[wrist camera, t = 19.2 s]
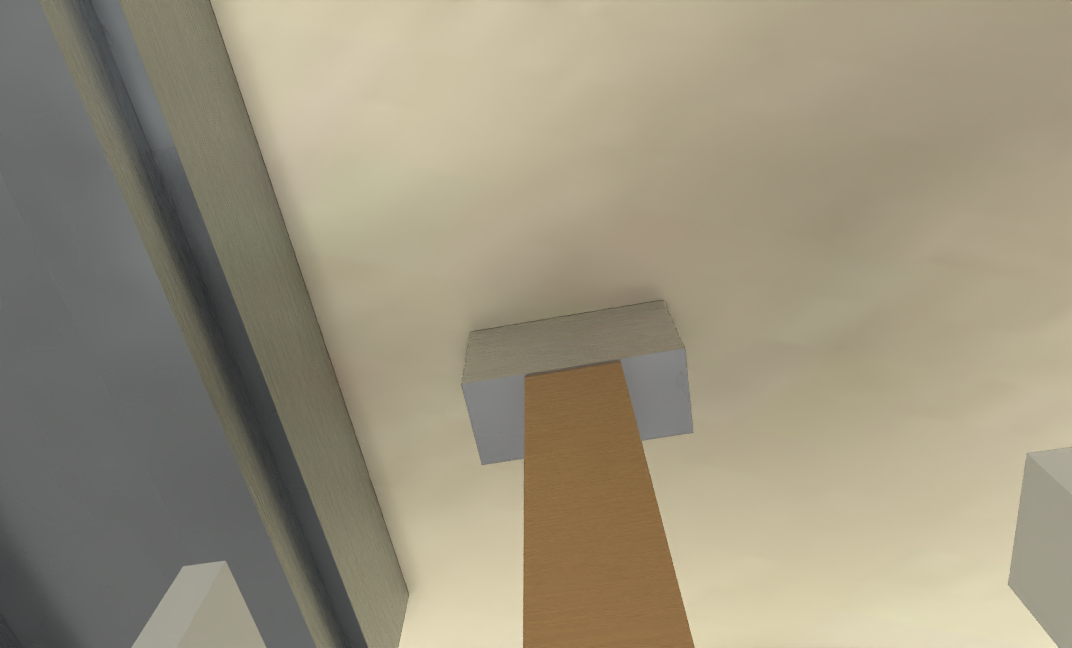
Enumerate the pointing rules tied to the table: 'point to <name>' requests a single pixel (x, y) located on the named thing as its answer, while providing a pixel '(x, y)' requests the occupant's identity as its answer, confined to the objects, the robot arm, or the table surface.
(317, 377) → the slot bed
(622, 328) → the hammer
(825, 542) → the table surface
